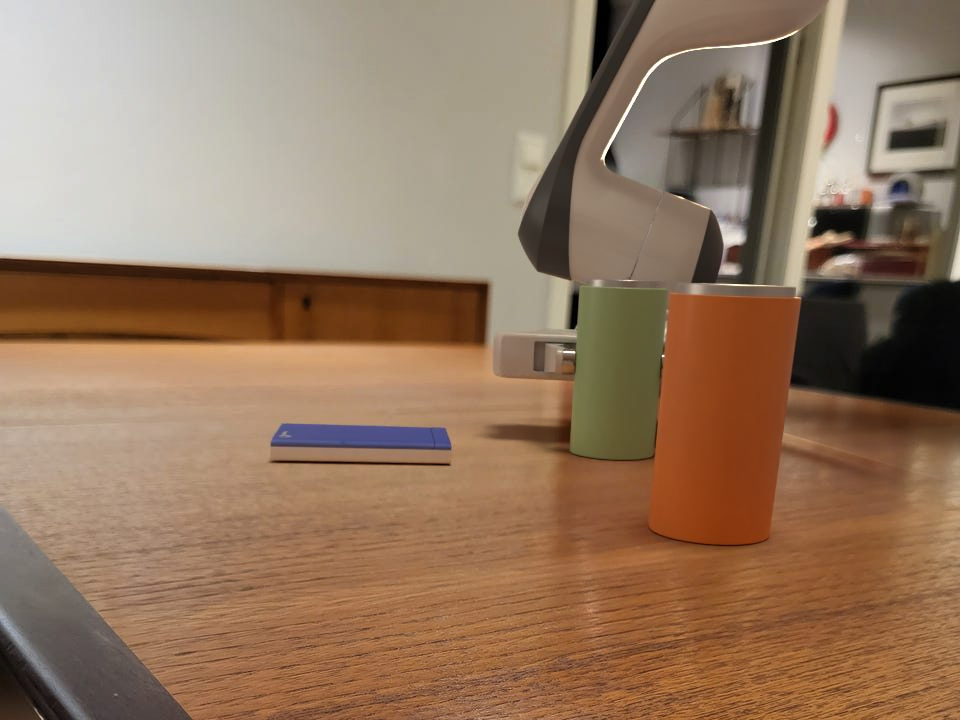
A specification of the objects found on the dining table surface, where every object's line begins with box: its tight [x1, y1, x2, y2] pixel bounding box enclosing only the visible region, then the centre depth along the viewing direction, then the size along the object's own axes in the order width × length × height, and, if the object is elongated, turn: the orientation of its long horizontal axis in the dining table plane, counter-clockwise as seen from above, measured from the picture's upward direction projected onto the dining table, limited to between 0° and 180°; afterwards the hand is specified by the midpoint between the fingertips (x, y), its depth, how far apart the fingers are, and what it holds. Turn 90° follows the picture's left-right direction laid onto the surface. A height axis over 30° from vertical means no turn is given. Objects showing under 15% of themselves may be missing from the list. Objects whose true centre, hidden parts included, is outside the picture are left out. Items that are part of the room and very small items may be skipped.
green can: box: [569, 279, 668, 461], centre depth 75 cm, size 6×6×12 cm
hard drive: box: [269, 422, 453, 465], centre depth 73 cm, size 2×8×12 cm
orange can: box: [648, 283, 802, 546], centre depth 52 cm, size 6×6×12 cm
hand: (618, 364), depth 74 cm, fingers closed on green can, 6 cm apart
